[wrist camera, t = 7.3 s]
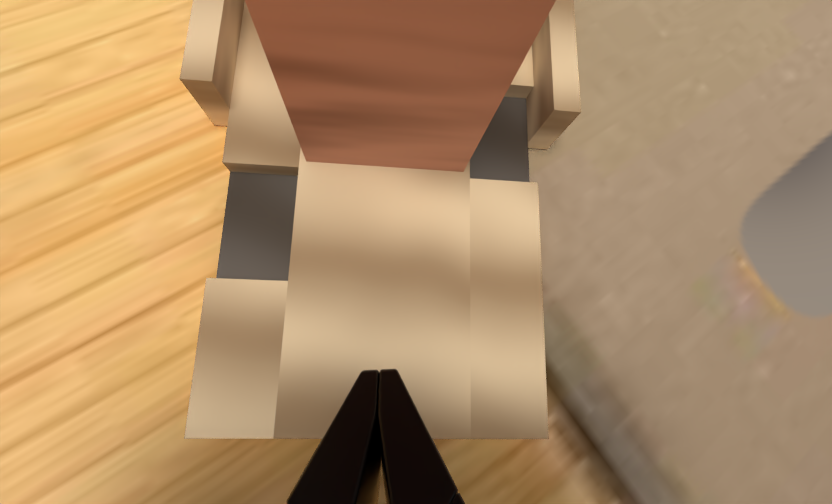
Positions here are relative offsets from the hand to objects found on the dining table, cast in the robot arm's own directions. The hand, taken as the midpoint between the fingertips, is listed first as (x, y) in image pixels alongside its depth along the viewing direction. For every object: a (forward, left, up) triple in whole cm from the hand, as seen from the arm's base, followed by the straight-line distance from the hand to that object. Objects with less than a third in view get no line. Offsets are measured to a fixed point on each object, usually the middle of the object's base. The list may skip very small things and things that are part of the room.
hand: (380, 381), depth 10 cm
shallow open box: (+7, -7, -8) cm, 12 cm away
